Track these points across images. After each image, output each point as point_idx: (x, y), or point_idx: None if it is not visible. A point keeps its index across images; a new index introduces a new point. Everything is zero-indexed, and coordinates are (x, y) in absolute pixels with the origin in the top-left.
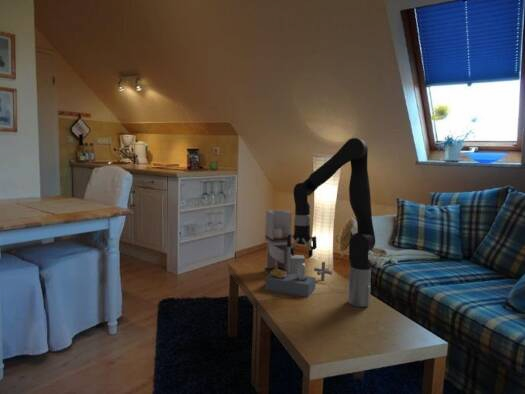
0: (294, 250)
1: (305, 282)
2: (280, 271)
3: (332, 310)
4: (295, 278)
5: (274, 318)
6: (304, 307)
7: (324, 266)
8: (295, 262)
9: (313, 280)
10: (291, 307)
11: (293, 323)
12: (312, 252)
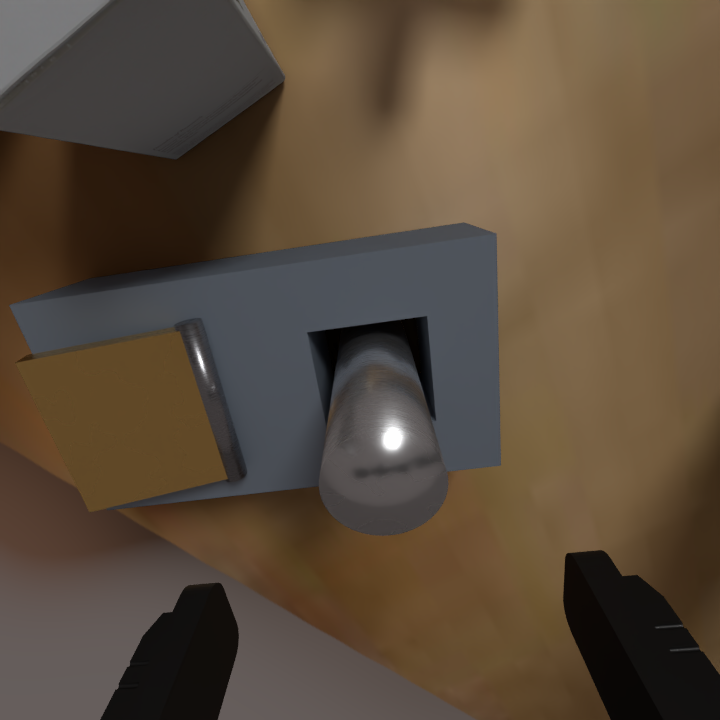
0: (175, 693)
1: (453, 430)
2: (125, 395)
3: (669, 508)
4: (315, 369)
5: (424, 688)
6: (506, 548)
7: None
8: (92, 96)
9: (495, 317)
10: (442, 579)
11: (516, 687)
12: (715, 672)
